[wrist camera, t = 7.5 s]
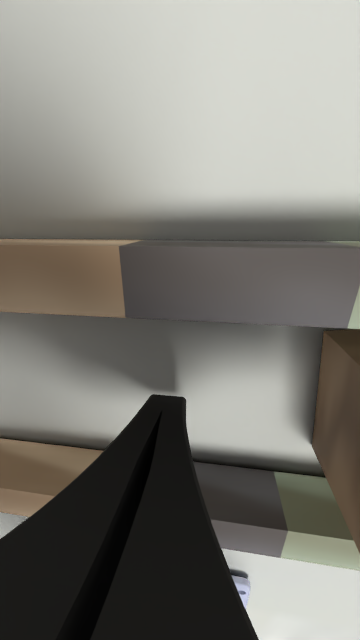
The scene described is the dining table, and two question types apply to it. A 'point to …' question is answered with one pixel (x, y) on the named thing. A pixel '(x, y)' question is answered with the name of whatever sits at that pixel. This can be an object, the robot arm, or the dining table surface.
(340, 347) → the tan wooden block
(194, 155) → the dining table surface
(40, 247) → the trap lane
